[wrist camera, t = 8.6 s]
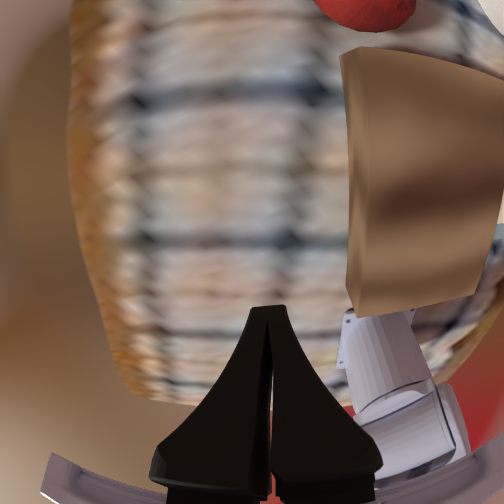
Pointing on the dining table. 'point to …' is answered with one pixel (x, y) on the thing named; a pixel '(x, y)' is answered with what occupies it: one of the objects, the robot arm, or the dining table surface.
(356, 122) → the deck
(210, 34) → the dining table surface
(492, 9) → the base with upright slab
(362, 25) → the onion
